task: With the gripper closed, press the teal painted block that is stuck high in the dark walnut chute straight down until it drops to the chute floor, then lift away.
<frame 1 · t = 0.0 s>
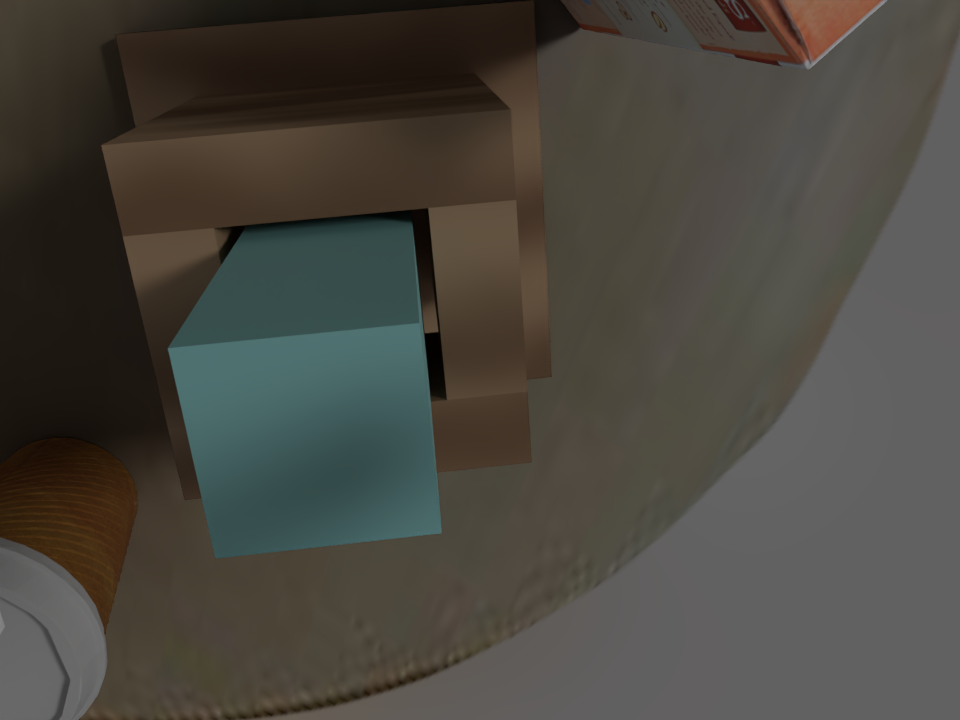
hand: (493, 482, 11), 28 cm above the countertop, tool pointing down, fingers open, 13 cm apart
block: (331, 343, 24), point 15 cm above the countertop, slide at 0.0 cm
chute: (355, 216, 38), on the countertop
disposable coffee cup: (70, 493, 42), on the countertop
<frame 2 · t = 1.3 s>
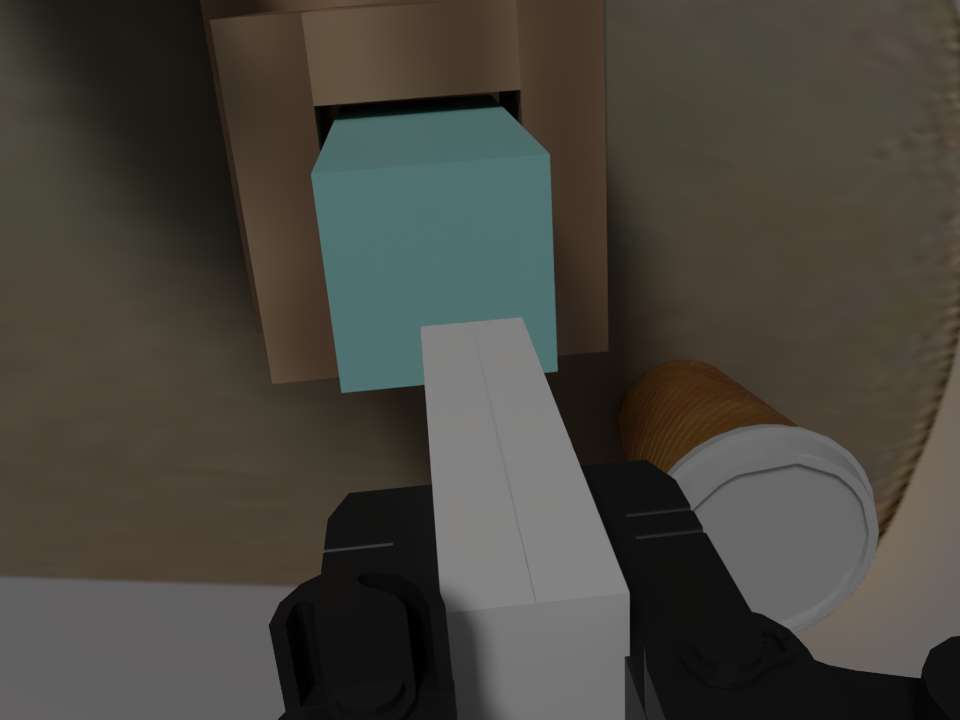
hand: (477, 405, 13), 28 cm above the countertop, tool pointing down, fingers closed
block: (429, 215, 25), point 15 cm above the countertop, slide at 0.0 cm
chute: (415, 136, 39), on the countertop
disposable coffee cup: (676, 414, 46), on the countertop
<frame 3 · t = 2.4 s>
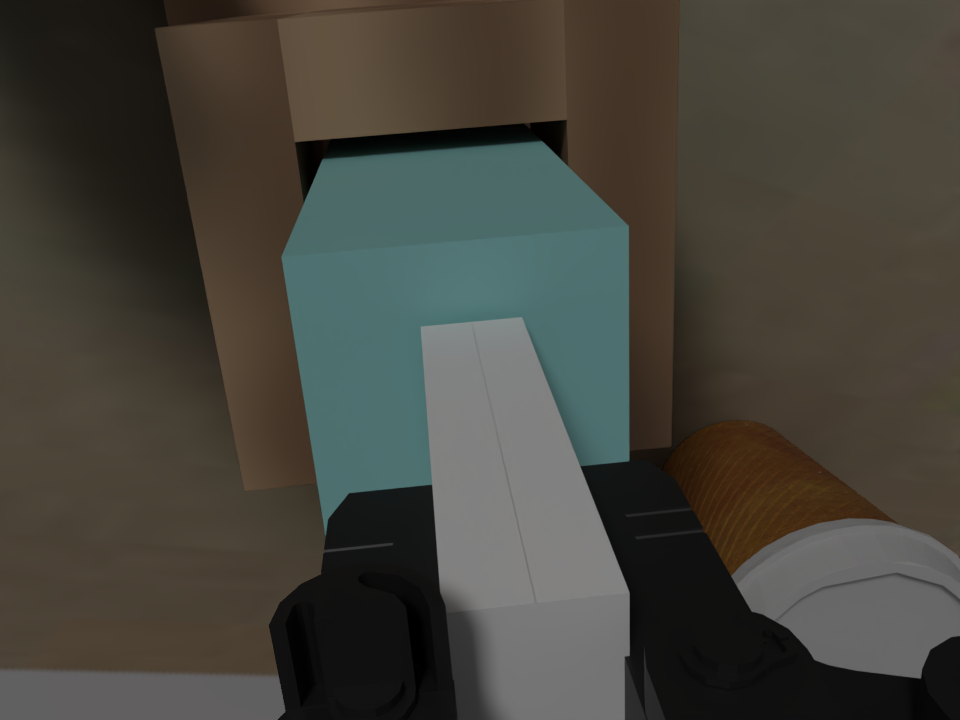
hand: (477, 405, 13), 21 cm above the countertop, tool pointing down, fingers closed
block: (447, 282, 19), point 15 cm above the countertop, slide at 0.4 cm, touching gripper
chute: (424, 163, 33), on the countertop
disposable coffee cup: (725, 481, 39), on the countertop
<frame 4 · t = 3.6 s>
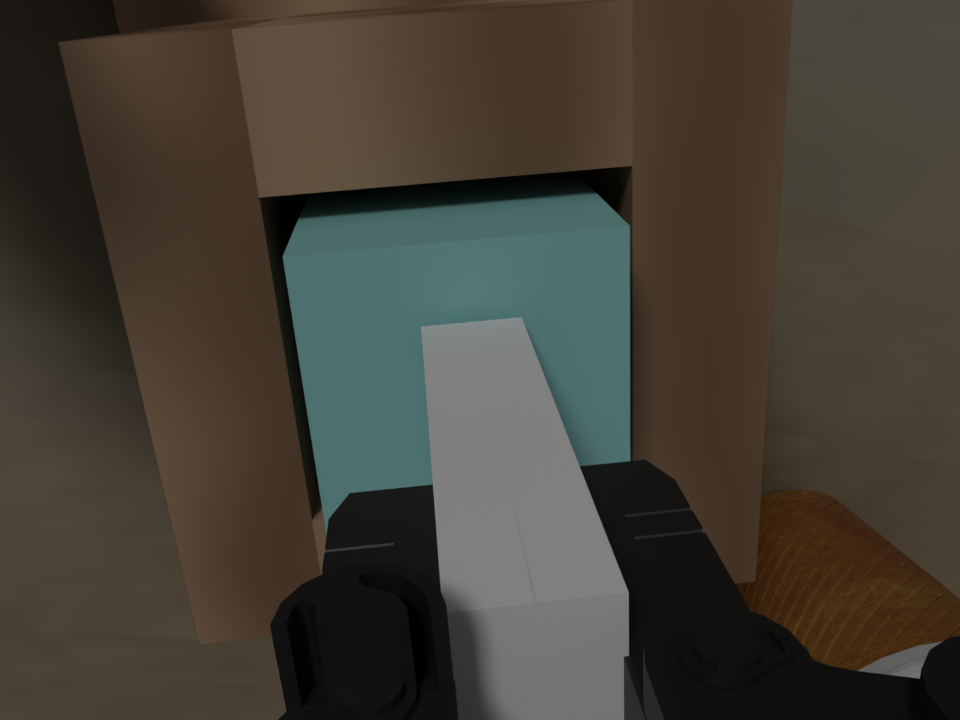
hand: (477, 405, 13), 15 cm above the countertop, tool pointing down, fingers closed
block: (448, 282, 19), point 9 cm above the countertop, slide at 6.2 cm, touching gripper
chute: (431, 196, 27), on the countertop
disposable coffee cup: (778, 557, 34), on the countertop
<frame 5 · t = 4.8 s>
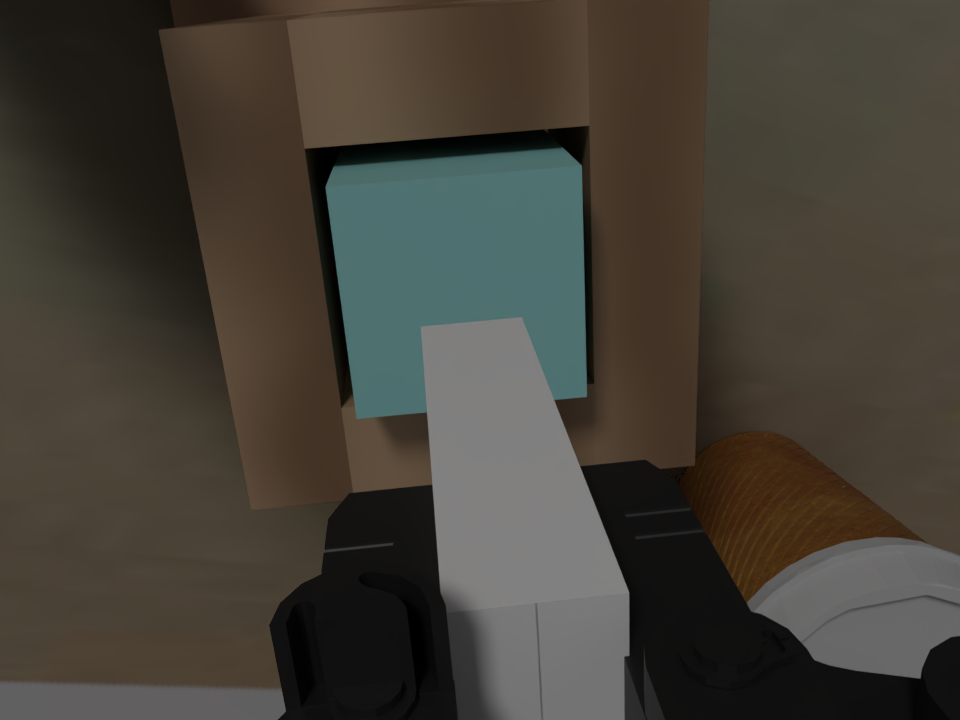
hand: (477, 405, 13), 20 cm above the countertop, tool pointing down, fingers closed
block: (449, 227, 24), point 9 cm above the countertop, slide at 6.3 cm
chute: (437, 168, 32), on the countertop
disposable coffee cup: (743, 493, 38), on the countertop
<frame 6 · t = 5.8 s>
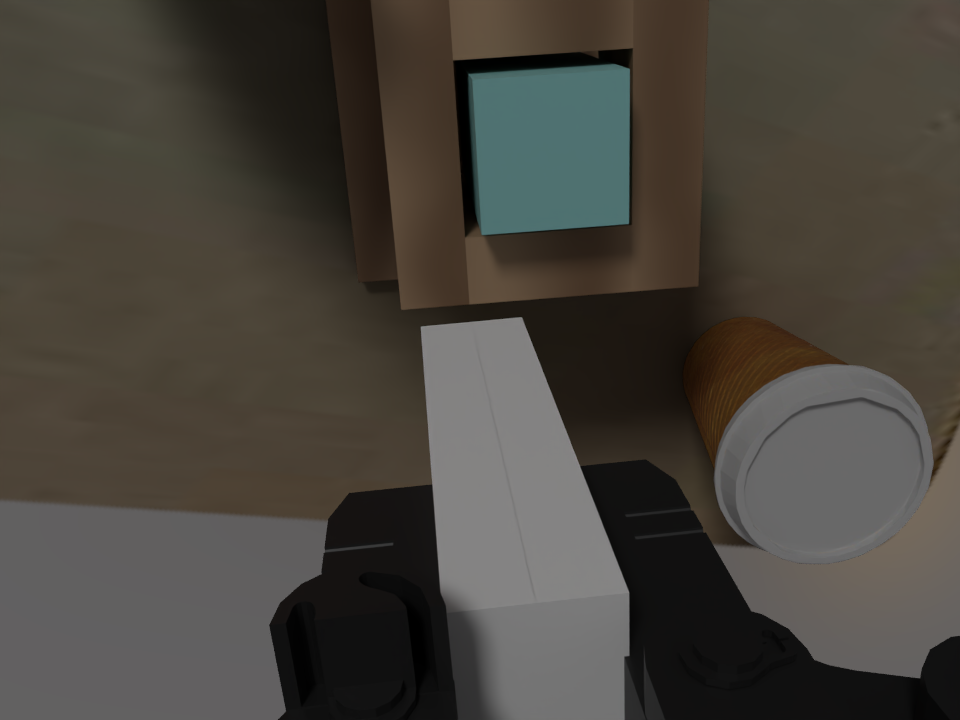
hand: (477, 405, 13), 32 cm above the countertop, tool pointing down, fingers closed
block: (530, 128, 35), point 9 cm above the countertop, slide at 6.3 cm
chute: (508, 103, 43), on the countertop
disposable coffee cup: (737, 368, 49), on the countertop
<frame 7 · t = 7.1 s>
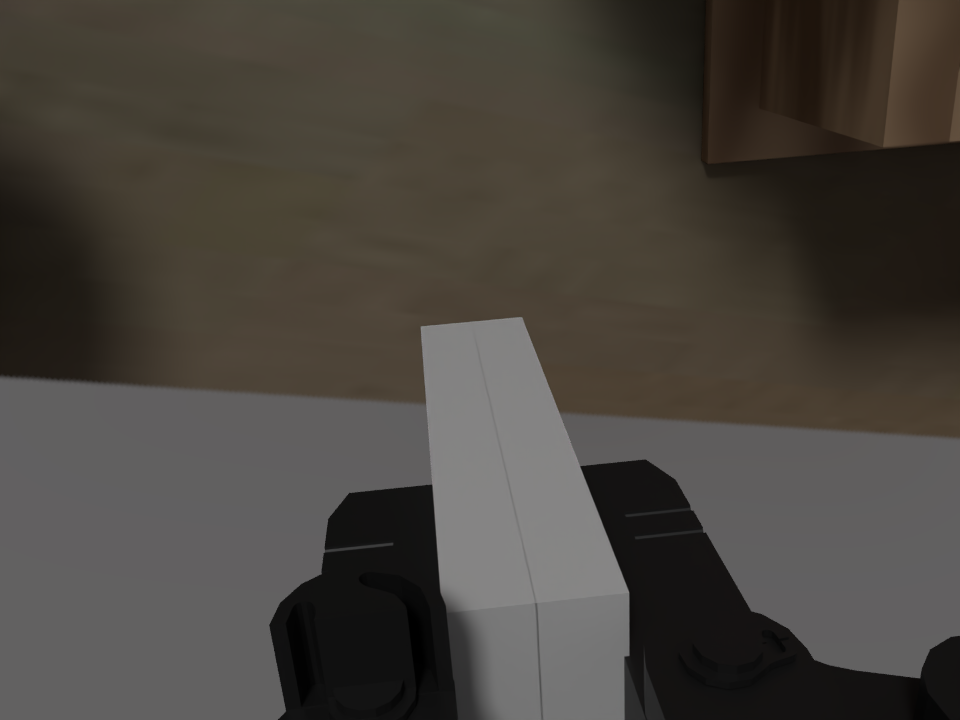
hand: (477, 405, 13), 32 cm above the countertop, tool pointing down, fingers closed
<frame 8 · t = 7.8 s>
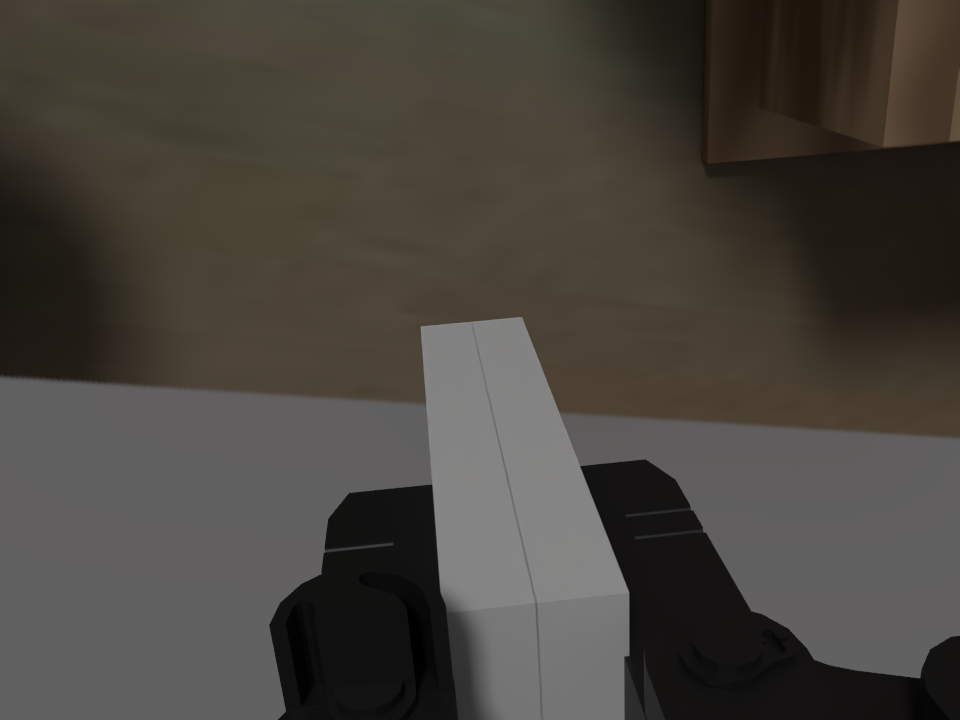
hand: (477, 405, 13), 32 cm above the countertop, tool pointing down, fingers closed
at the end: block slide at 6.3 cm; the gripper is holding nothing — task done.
